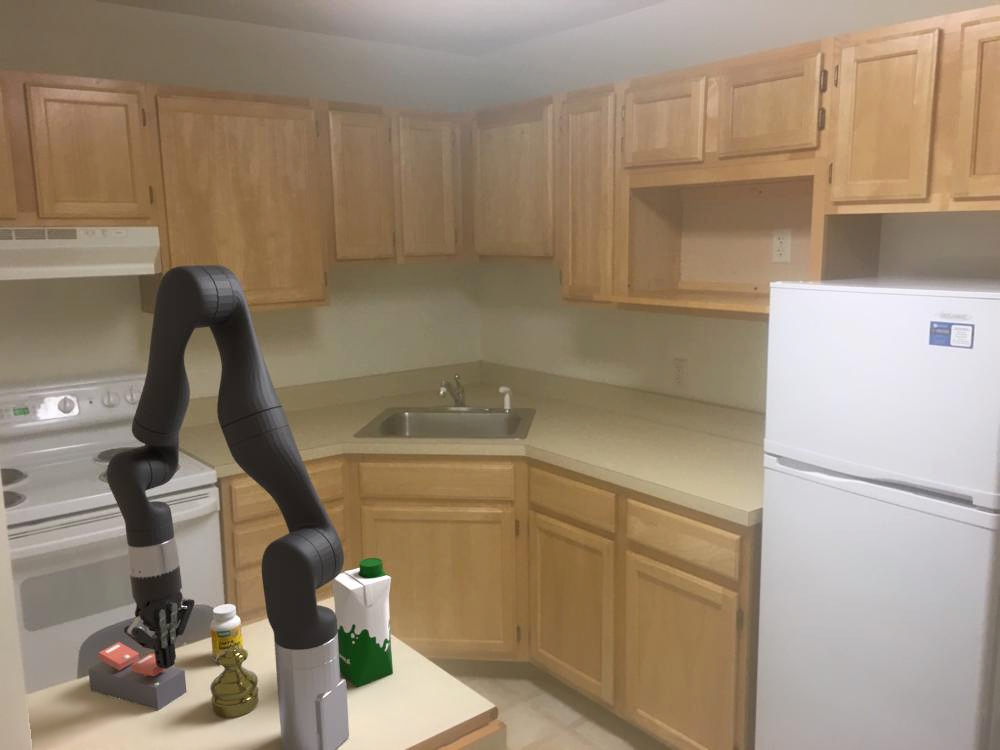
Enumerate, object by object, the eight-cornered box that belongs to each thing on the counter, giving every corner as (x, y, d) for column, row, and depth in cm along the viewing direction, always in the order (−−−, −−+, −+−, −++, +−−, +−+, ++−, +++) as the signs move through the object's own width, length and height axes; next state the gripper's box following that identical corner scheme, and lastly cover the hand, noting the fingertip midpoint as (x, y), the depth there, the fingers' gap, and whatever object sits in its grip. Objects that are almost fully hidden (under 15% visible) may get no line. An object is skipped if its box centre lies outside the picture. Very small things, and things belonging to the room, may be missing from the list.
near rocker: (173, 668, 134) (172, 657, 134) (154, 680, 130) (153, 668, 130) (152, 663, 136) (150, 652, 136) (132, 675, 132) (131, 663, 132)
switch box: (186, 691, 135) (184, 669, 134) (158, 710, 130) (156, 687, 129) (120, 673, 142) (117, 652, 141) (90, 690, 136) (88, 668, 136)
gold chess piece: (268, 697, 133) (264, 642, 131) (240, 722, 126) (235, 663, 124) (232, 690, 135) (228, 635, 134) (202, 714, 128) (197, 656, 127)
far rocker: (138, 662, 138) (139, 652, 137) (118, 674, 134) (119, 663, 133) (118, 651, 139) (118, 641, 139) (98, 661, 136) (99, 651, 135)
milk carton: (400, 674, 139) (395, 566, 136) (353, 692, 134) (347, 579, 131) (376, 654, 146) (371, 551, 143) (331, 671, 141) (324, 564, 138)
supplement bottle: (239, 647, 150) (235, 599, 149) (247, 658, 146) (243, 609, 144) (209, 655, 147) (205, 607, 146) (217, 667, 143) (213, 617, 141)
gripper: (137, 584, 122) (150, 689, 124) (202, 554, 134) (213, 651, 136) (103, 579, 125) (117, 682, 127) (169, 550, 137) (181, 645, 139)
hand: (166, 665), depth 131 cm, fingers closed
